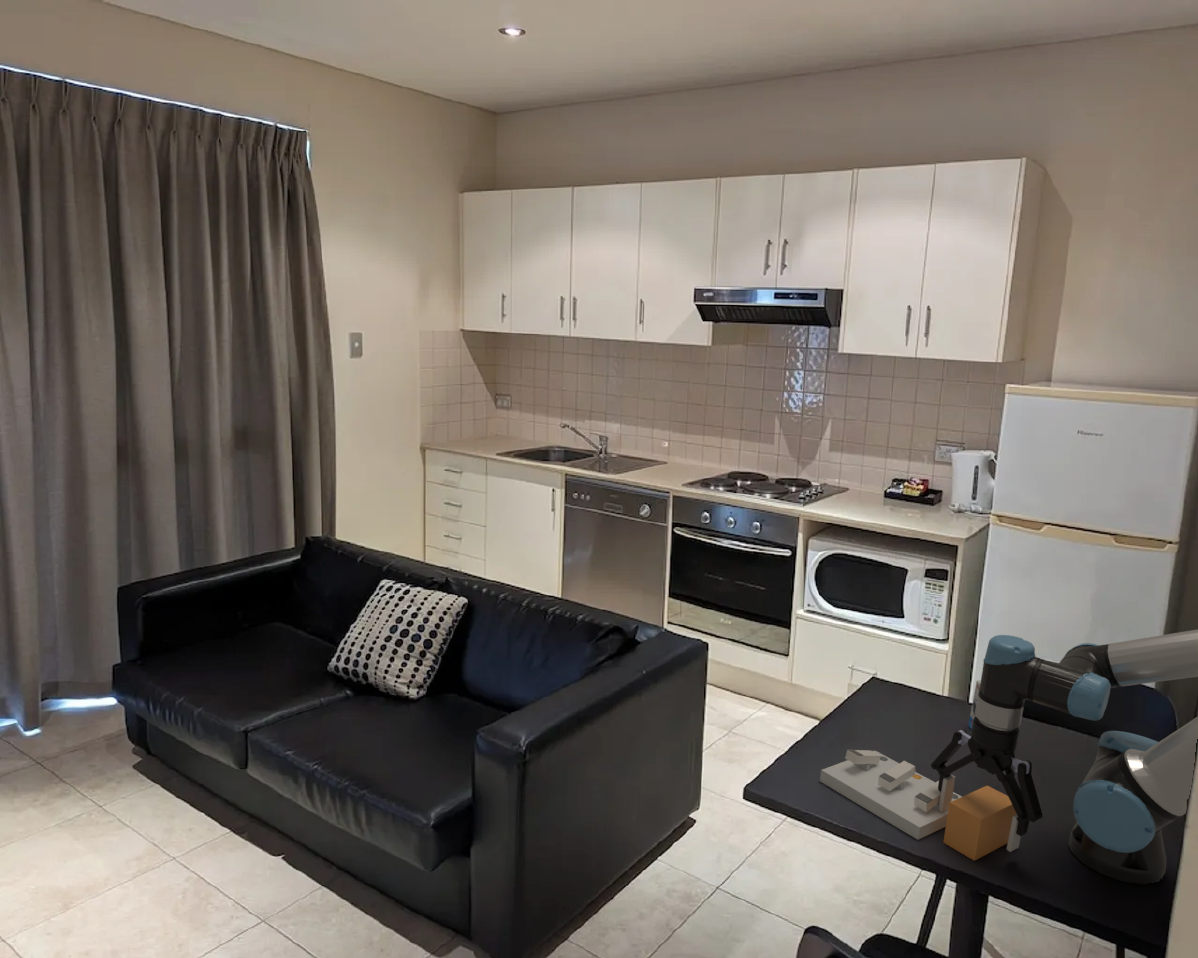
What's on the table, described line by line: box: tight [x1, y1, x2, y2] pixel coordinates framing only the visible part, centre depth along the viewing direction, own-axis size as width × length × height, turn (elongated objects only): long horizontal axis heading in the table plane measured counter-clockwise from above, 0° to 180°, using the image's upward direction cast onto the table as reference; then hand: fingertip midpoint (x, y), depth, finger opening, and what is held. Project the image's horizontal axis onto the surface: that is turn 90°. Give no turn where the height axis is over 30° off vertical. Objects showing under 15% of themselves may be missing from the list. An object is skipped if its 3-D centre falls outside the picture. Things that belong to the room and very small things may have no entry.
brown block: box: [942, 785, 1017, 861], centre depth 162 cm, size 6×12×8 cm, turn 126°
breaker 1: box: [844, 748, 881, 764], centre depth 182 cm, size 3×8×2 cm, turn 125°
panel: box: [819, 750, 963, 841], centre depth 176 cm, size 23×17×4 cm
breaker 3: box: [914, 780, 941, 812], centre depth 169 cm, size 3×8×2 cm, turn 126°
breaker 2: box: [878, 760, 916, 791], centre depth 175 cm, size 3×8×2 cm, turn 125°
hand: (976, 828), depth 163 cm, fingers open, 13 cm apart
